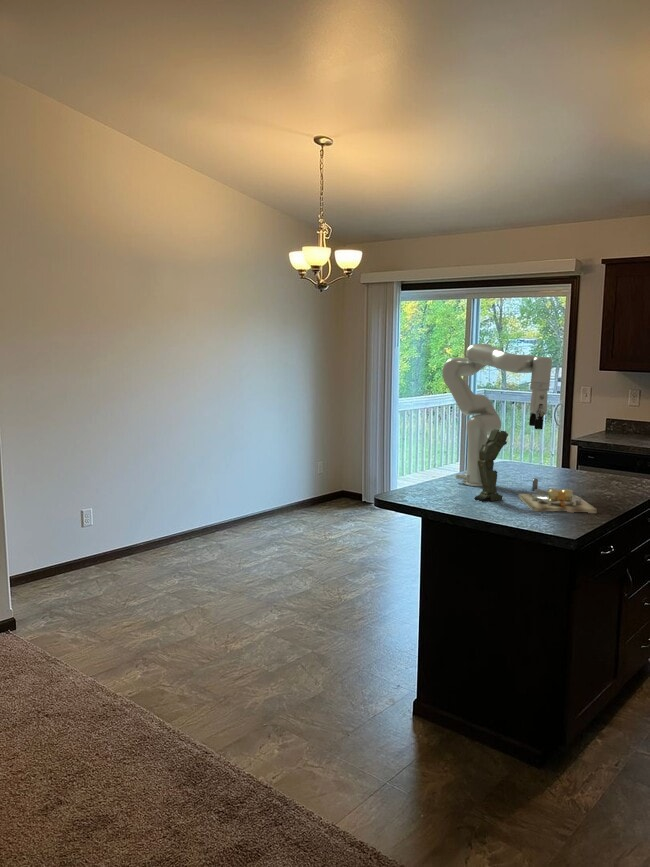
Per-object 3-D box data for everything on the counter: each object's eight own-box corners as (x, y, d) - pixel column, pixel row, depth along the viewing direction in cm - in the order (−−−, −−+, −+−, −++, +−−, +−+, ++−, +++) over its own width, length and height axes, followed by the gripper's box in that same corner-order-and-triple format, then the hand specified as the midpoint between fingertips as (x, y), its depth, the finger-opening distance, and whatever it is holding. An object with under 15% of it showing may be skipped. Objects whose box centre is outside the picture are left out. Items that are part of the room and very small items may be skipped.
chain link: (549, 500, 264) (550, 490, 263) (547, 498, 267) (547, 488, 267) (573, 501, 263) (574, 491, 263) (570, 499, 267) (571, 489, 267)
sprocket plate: (533, 511, 260) (533, 506, 260) (518, 497, 284) (518, 493, 284) (596, 513, 259) (597, 508, 259) (576, 499, 283) (577, 495, 283)
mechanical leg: (476, 501, 271) (494, 427, 270) (465, 497, 277) (482, 425, 277) (502, 506, 277) (519, 434, 277) (490, 502, 284) (507, 432, 283)
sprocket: (574, 508, 258) (576, 491, 257) (520, 500, 270) (521, 484, 269) (586, 499, 274) (588, 483, 273) (534, 492, 286) (535, 477, 285)
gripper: (554, 389, 273) (549, 431, 276) (543, 385, 290) (539, 424, 293) (535, 388, 274) (531, 430, 276) (526, 384, 291) (522, 423, 293)
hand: (535, 427), depth 285 cm, fingers open, 9 cm apart
